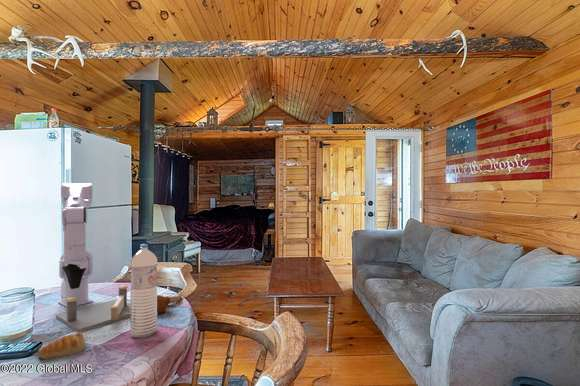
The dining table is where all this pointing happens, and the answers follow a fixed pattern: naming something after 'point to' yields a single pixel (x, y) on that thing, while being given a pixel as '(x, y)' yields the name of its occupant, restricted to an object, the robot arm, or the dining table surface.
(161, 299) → the smoking pipe
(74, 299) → the gate frame
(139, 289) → the water bottle
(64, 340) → the pastry
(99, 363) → the dining table surface
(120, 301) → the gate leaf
